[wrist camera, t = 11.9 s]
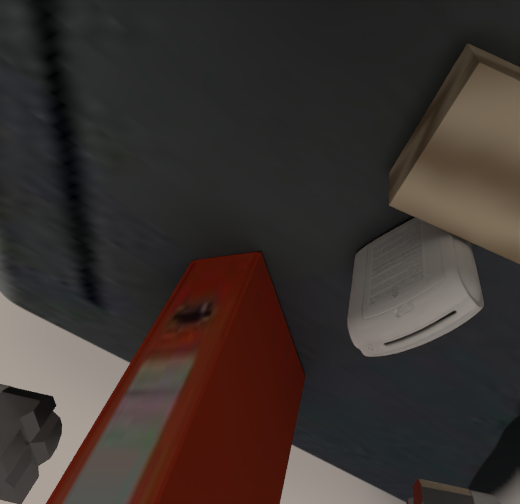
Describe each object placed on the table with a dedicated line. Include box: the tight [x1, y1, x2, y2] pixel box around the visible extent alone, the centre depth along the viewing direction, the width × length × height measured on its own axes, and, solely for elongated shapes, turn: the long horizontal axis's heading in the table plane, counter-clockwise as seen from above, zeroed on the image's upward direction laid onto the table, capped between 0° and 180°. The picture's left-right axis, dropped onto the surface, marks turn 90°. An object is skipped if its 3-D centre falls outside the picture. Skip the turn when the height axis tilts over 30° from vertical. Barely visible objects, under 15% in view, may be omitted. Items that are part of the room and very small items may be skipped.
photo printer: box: [347, 217, 484, 356], centre depth 39 cm, size 10×4×12 cm, turn 133°
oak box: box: [389, 43, 520, 264], centre depth 36 cm, size 11×11×6 cm
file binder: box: [46, 252, 305, 504], centre depth 41 cm, size 8×17×32 cm, turn 18°
